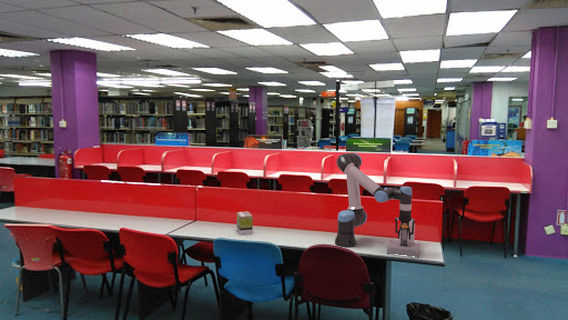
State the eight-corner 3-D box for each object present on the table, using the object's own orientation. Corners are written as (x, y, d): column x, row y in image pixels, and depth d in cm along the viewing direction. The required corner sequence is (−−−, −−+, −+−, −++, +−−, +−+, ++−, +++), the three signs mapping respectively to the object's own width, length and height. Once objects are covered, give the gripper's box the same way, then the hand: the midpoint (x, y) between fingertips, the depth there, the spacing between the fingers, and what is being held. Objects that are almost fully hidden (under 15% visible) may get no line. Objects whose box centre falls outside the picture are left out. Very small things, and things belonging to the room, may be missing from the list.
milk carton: (399, 242, 282) (400, 217, 280) (407, 242, 284) (408, 216, 282) (405, 245, 275) (407, 219, 273) (414, 244, 278) (415, 218, 276)
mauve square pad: (386, 254, 257) (387, 245, 256) (389, 245, 275) (390, 237, 275) (418, 258, 249) (419, 249, 249) (419, 249, 268) (420, 240, 268)
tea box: (236, 230, 310) (236, 211, 309) (248, 229, 313) (248, 211, 312) (240, 235, 296) (240, 216, 295) (252, 234, 299) (253, 215, 298)
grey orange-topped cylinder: (398, 250, 260) (399, 225, 259) (399, 248, 266) (400, 223, 264) (408, 251, 258) (409, 226, 257) (408, 249, 264) (409, 224, 262)
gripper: (391, 209, 259) (390, 243, 261) (418, 212, 253) (417, 246, 255) (392, 207, 266) (391, 240, 268) (419, 209, 260) (417, 243, 262)
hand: (403, 243), depth 262 cm, fingers closed on grey orange-topped cylinder, 4 cm apart
